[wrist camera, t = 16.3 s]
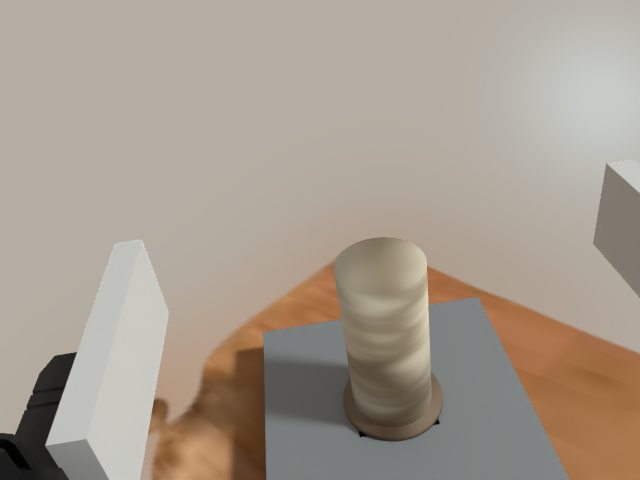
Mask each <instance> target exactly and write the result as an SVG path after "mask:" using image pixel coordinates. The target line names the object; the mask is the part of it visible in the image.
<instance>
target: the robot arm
mask: <svg viewBox="0 0 640 480" xmlns="http://www.w3.org/2000/svg"><path fill="white" fill-rule="evenodd" d="M593 243H594V245H595V246H596V247H597V248H598V250H599V251H600V252H601V253H602V254H603V255H604V257H605V258H606V259H607V260H608V261H609V262H610V264H611V265H612V266H613V267H614V268H615V269H616V270H617V272H618V273H619V274H620V275H621V276H622V277H623V279H624V280H625V281H626V282H627V283H628V284H629V285H630V287H631V288H632V289H633V290H634V291H635V293H636V294H637V295H638V296H639V297H640V164H639V163H638V162H636V161H635V160H634V159H629V160H623V161H618V162H612V163H607V164H606V169H605V175H604V181H603V187H602V193H601V199H600V205H599V211H598V218H597V224H596V229H595V236H594V241H593ZM168 316H169V311H168V309H167V306H166V303H165V300H164V298H163V295H162V292H161V290H160V287H159V284H158V281H157V279H156V276H155V274H154V271H153V268H152V265H151V263H150V260H149V257H148V254H147V252H146V249H145V246H144V243H143V241H142V239H139V240H133V241H127V242H121V243H115V244H114V247H113V250H112V253H111V256H110V258H109V261H108V264H107V267H106V270H105V273H104V276H103V279H102V282H101V285H100V287H99V290H98V293H97V296H96V299H95V302H94V305H93V308H92V311H91V314H90V317H89V320H88V322H87V325H86V329H85V331H84V334H83V337H82V340H81V343H80V346H79V349H78V351H77V352H75V353H70V354H63V355H57V356H54V358H53V359H52V360H51V361H50V362H49V364H47V366H46V367H45V368H44V369H43V370H42V371H41V373H40V374H39V377H38V379H37V382H36V384H35V387H34V389H33V395H31V397H30V399H29V402H28V404H27V410H25V412H24V414H23V417H22V419H21V422H20V424H19V427H18V429H17V431H16V434H15V435H13V434H5V433H0V480H140V476H141V470H142V465H143V459H144V453H145V448H146V442H147V436H148V430H149V425H150V419H151V413H152V408H153V402H154V396H155V391H156V385H157V379H158V373H159V367H160V361H161V356H162V351H163V345H164V339H165V334H166V328H167V322H168Z"/></svg>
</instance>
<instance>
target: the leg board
mask: <svg viewBox="0 0 640 480" xmlns="http://www.w3.org/2000/svg"><path fill="white" fill-rule="evenodd" d="M428 312H429V337H430V363H431V373H433V375H434V376H435V377H436V378H437V380H438V382H439V384H440V386H441V389H442V396H443V405H442V410H441V414H440V416H439V418H438V420H437V421H436V423H435V424H434V425H433V426H432V427H431V428H430V429H429V430H428V431H426V432H425V433H423V434H421V435H419V436H417V437H415V438H412V439H409V440H405V441H397V442H388V441H381V440H377V439H374V438H371V437H369V436H365V437H360V436H359V431H358V430H357V429H356V428H355V427H354V426H353V425H352V423H351V422H350V421H349V419H348V417H347V415H346V412H345V408H344V402H343V394H344V389H345V386H346V384H347V382H348V380H349V379H350V373H349V366H348V359H347V353H346V346H345V340H344V333H343V327H342V320H341V319H340V320H334V321H328V322H322V323H316V324H310V325H304V326H298V327H292V328H286V329H280V330H274V331H268V332H263V340H264V390H265V439H266V480H570V479H569V477H568V475H567V473H566V471H565V469H564V467H563V465H562V463H561V461H560V459H559V457H558V455H557V453H556V452H555V450H554V448H553V446H552V444H551V442H550V440H549V438H548V436H547V434H546V432H545V430H544V428H543V426H542V424H541V422H540V420H539V418H538V416H537V414H536V412H535V410H534V408H533V406H532V404H531V402H530V400H529V398H528V396H527V394H526V392H525V390H524V388H523V386H522V384H521V382H520V380H519V378H518V376H517V374H516V372H515V370H514V368H513V366H512V364H511V362H510V360H509V358H508V356H507V354H506V352H505V350H504V348H503V346H502V344H501V342H500V340H499V338H498V336H497V334H496V332H495V330H494V328H493V326H492V324H491V322H490V320H489V318H488V316H487V314H486V312H485V310H484V308H483V306H482V304H481V302H480V300H479V298H478V297H473V298H467V299H461V300H455V301H449V302H443V303H437V304H431V305H428Z"/></svg>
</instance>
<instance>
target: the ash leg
mask: <svg viewBox="0 0 640 480" xmlns="http://www.w3.org/2000/svg"><path fill="white" fill-rule="evenodd" d="M426 263H427V262H426V257H425V255H424V253H423V252H422V251H421V250H420V249H419V248H418V247H417V246H415V245H414V244H412V243H410V242H408V241H405V240H401V239H397V238H385V237H382V238H372V239H367V240H364V241H360V242H357V243H355V244H353V245H351V246H349V247H348V248H346V249H345V250H344V251H343V252H341V253H340V255H339V256H338V257H337V259H336V261H335V264H334V274H335V281H336V287H337V294H338V300H339V307H340V314H341V320H342V327H343V333H344V340H345V346H346V353H347V359H348V366H349V373H350V379H349V380H348V382H347V384H346V386H345V389H344V394H343V402H344V408H345V412H346V415H347V417H348V419H349V421H350V422H351V423H352V425H353V426H354V427H355V428H356V429H357V430H359V431H360V432H361V433H363V434H365V435H367V436H369V437H371V438H374V439H377V440H381V441H388V442H397V441H405V440H409V439H412V438H415V437H417V436H419V435H421V434H423V433H425V432H426V431H428V430H429V429H430V428H431V427H432V426H433V425H434V424H435V423H436V421H437V420H438V418H439V416H440V414H441V410H442V405H443V396H442V389H441V386H440V384H439V382H438V380H437V378H436V377H435V376H434V375H433V373H431V363H430V337H429V312H428V286H427V264H426Z"/></svg>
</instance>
